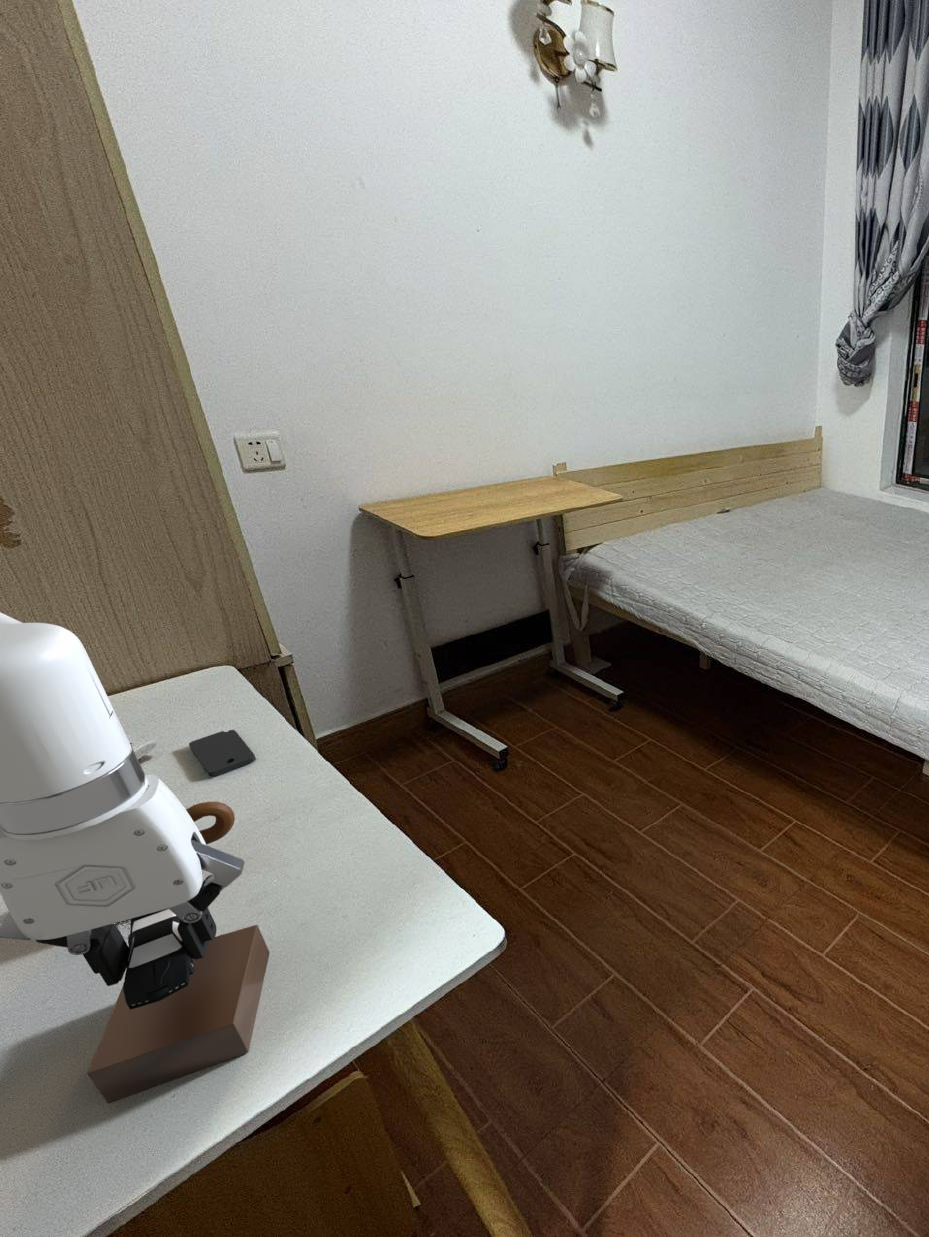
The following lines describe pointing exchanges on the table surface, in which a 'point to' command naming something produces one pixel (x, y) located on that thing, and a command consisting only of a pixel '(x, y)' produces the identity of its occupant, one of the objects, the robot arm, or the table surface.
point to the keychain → (222, 752)
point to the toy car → (155, 959)
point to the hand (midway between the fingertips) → (162, 956)
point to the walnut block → (185, 1021)
